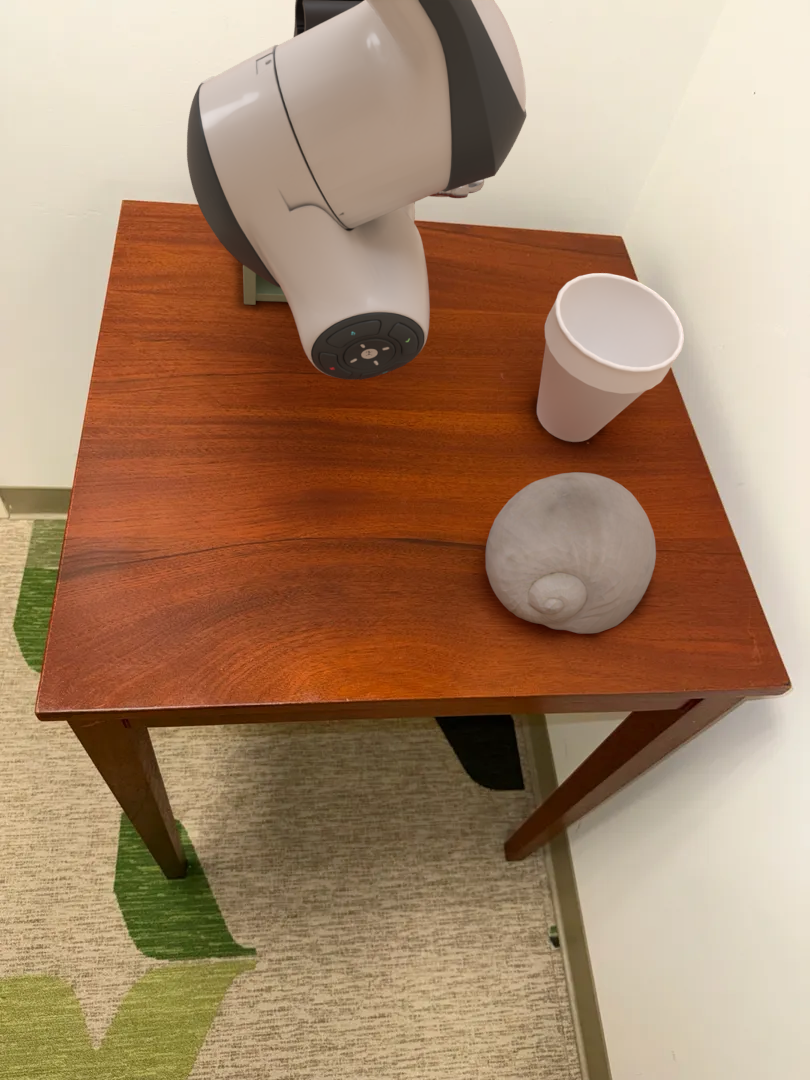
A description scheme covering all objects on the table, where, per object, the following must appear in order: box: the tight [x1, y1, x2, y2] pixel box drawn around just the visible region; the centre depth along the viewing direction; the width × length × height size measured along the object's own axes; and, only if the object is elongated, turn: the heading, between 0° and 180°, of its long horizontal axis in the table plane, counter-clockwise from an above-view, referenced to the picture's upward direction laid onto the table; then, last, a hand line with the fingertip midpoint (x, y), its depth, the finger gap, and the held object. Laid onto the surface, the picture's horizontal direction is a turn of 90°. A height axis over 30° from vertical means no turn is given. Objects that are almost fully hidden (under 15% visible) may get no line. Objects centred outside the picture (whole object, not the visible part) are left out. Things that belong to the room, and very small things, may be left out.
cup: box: [536, 272, 685, 443], centre depth 75 cm, size 12×12×14 cm
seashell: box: [485, 471, 657, 634], centre depth 68 cm, size 15×14×15 cm
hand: (332, 75), depth 61 cm, fingers closed on phone stand, 6 cm apart
